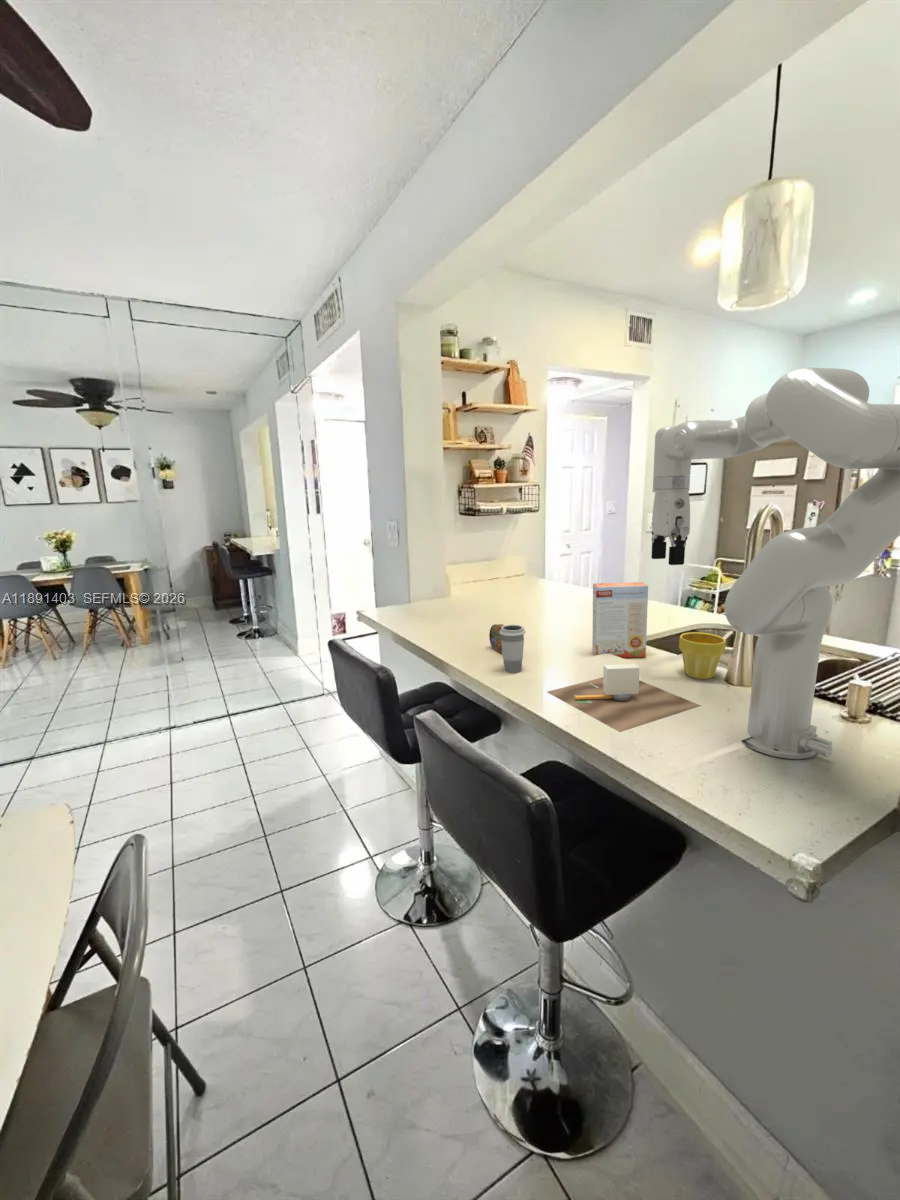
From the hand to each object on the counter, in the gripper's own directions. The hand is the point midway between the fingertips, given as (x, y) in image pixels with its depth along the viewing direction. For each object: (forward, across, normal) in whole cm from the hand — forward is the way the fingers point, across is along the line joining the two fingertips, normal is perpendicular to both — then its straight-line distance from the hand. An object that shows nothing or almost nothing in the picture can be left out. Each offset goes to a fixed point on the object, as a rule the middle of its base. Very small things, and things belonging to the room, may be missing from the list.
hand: (666, 561), depth 115 cm
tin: (+31, +28, +35) cm, 54 cm away
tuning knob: (+29, -10, +16) cm, 34 cm away
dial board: (+30, -10, +13) cm, 34 cm away
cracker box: (+31, +23, +3) cm, 38 cm away
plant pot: (+31, +6, -12) cm, 34 cm away
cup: (+31, +14, +34) cm, 48 cm away
